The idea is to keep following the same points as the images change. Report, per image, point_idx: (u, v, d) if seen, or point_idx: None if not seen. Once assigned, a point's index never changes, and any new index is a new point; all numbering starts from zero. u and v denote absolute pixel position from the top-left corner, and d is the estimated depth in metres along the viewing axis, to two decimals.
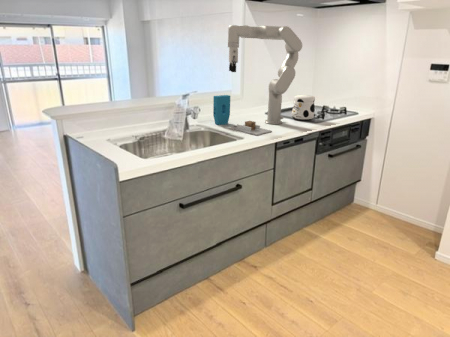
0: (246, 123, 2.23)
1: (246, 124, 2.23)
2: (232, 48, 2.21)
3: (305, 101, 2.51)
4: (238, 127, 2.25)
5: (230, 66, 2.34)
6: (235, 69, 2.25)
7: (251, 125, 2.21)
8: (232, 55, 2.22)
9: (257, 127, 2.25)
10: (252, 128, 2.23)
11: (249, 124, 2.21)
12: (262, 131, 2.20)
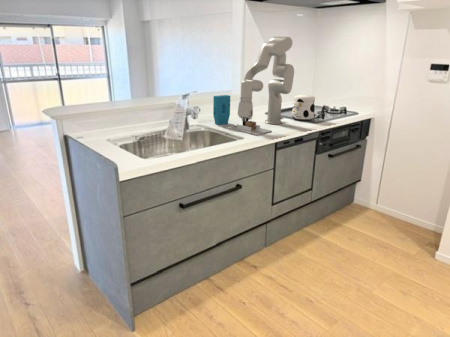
0: (246, 123, 2.22)
1: (246, 124, 2.22)
2: None
3: (305, 101, 2.51)
4: (238, 127, 2.25)
5: None
6: None
7: (251, 125, 2.21)
8: None
9: (257, 127, 2.25)
10: (252, 128, 2.22)
11: (249, 124, 2.21)
12: (262, 131, 2.20)
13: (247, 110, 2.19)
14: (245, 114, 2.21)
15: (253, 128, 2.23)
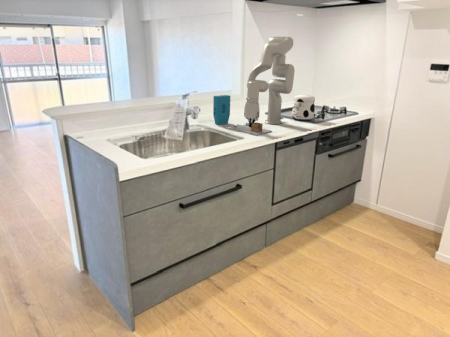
0: (253, 125, 2.18)
1: (253, 126, 2.19)
2: None
3: (305, 101, 2.51)
4: (238, 127, 2.25)
5: None
6: (249, 125, 2.23)
7: (258, 127, 2.17)
8: None
9: None
10: (259, 130, 2.18)
11: (256, 126, 2.17)
12: (262, 131, 2.20)
13: (254, 111, 2.15)
14: (252, 115, 2.17)
15: (259, 130, 2.19)
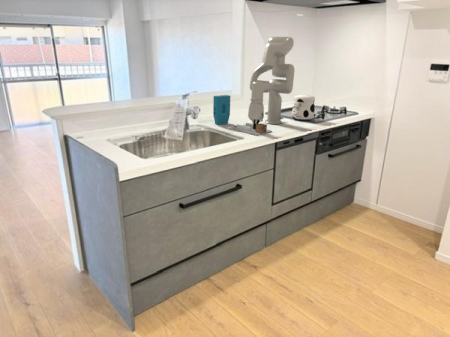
0: (257, 126, 2.16)
1: (257, 127, 2.16)
2: None
3: (305, 101, 2.51)
4: (238, 127, 2.25)
5: None
6: (253, 126, 2.21)
7: (262, 128, 2.14)
8: None
9: None
10: (263, 131, 2.16)
11: (260, 127, 2.14)
12: None
13: (258, 112, 2.13)
14: (256, 116, 2.15)
15: (264, 131, 2.16)
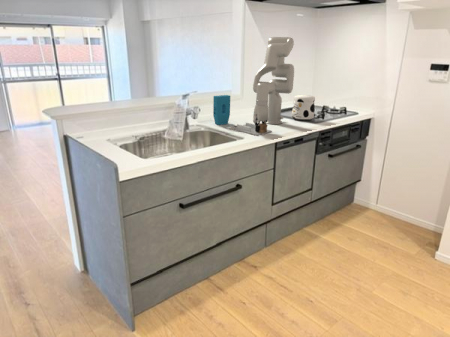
0: None
1: None
2: None
3: (305, 101, 2.51)
4: (238, 127, 2.25)
5: None
6: None
7: (263, 128, 2.15)
8: None
9: None
10: (264, 131, 2.16)
11: (261, 127, 2.14)
12: None
13: None
14: None
15: (264, 131, 2.16)
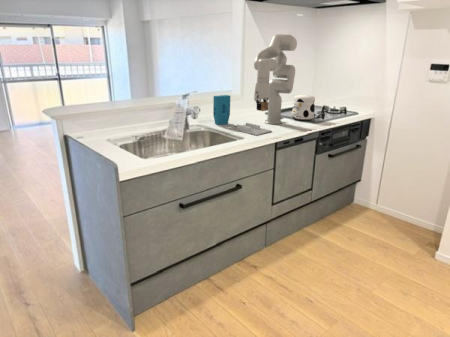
0: None
1: None
2: None
3: (305, 101, 2.51)
4: (238, 127, 2.25)
5: None
6: None
7: (264, 106, 2.10)
8: None
9: (257, 127, 2.25)
10: (265, 109, 2.12)
11: (262, 105, 2.10)
12: (262, 131, 2.20)
13: None
14: None
15: (265, 109, 2.12)
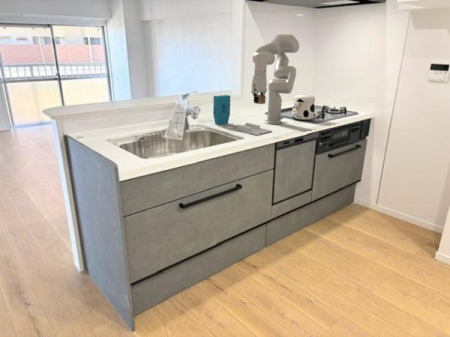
0: None
1: None
2: None
3: (305, 101, 2.51)
4: (238, 127, 2.25)
5: None
6: None
7: (261, 99, 2.13)
8: None
9: (257, 127, 2.25)
10: (262, 102, 2.14)
11: (259, 97, 2.13)
12: (262, 131, 2.20)
13: None
14: None
15: (263, 102, 2.15)
